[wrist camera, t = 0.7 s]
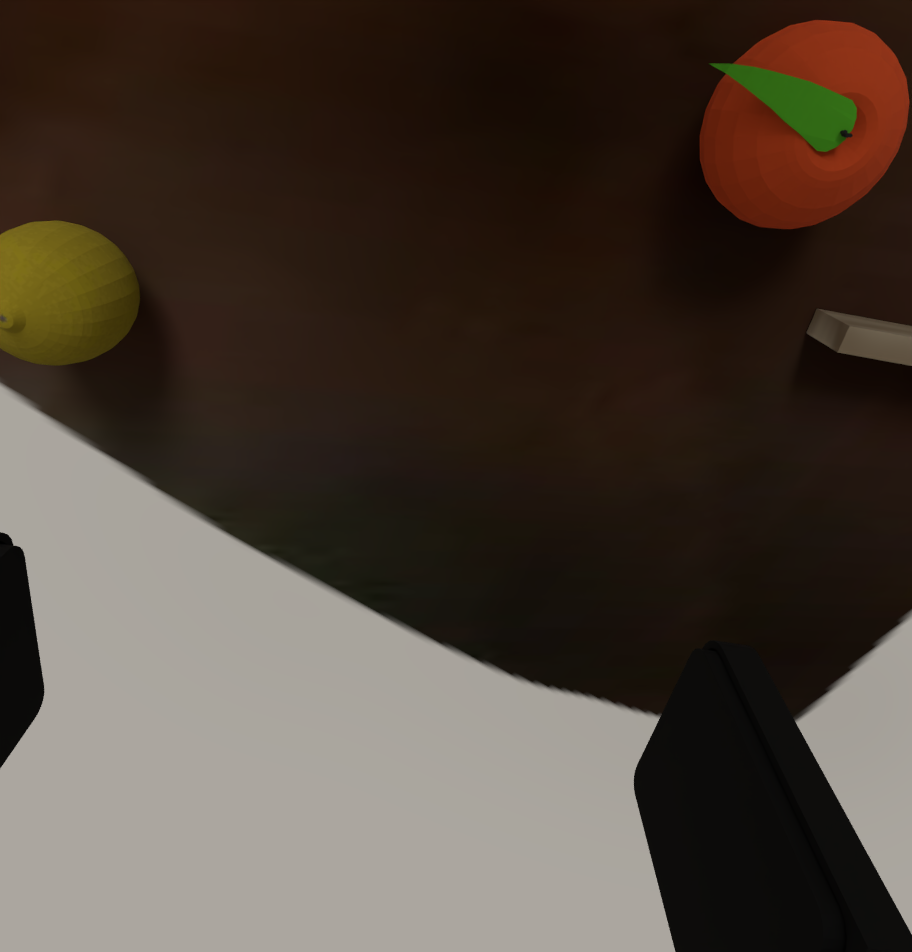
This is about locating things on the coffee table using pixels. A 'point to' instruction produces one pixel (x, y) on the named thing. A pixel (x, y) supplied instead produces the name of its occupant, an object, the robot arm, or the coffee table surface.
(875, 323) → the corral
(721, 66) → the clementine
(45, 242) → the lemon
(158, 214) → the coffee table surface
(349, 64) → the coffee table surface
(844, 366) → the coffee table surface
